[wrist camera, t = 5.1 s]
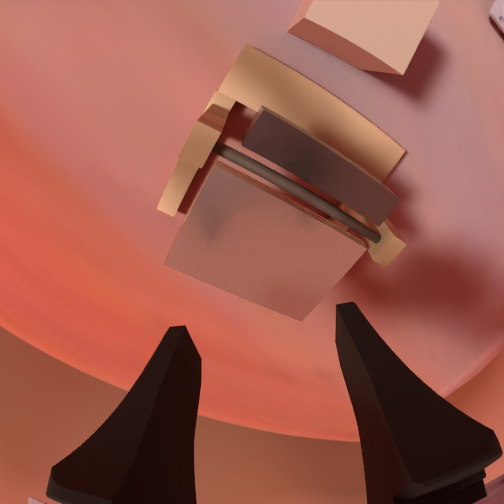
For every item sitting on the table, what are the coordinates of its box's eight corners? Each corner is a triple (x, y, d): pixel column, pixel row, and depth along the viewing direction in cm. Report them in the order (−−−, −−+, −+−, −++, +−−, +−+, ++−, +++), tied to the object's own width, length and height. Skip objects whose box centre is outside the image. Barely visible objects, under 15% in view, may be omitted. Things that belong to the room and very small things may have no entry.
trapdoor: (250, 98, 11) (251, 102, 10) (395, 192, 14) (407, 205, 12) (168, 251, 15) (162, 268, 14) (299, 307, 18) (302, 325, 17)
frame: (244, 44, 14) (242, 31, 9) (401, 148, 17) (455, 188, 12) (159, 203, 19) (129, 261, 14) (305, 271, 22) (320, 338, 17)
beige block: (390, 10, 12) (440, -1, 8) (359, 69, 14) (402, 74, 10) (319, -29, 11) (348, -61, 6) (286, 31, 13) (303, 17, 9)
